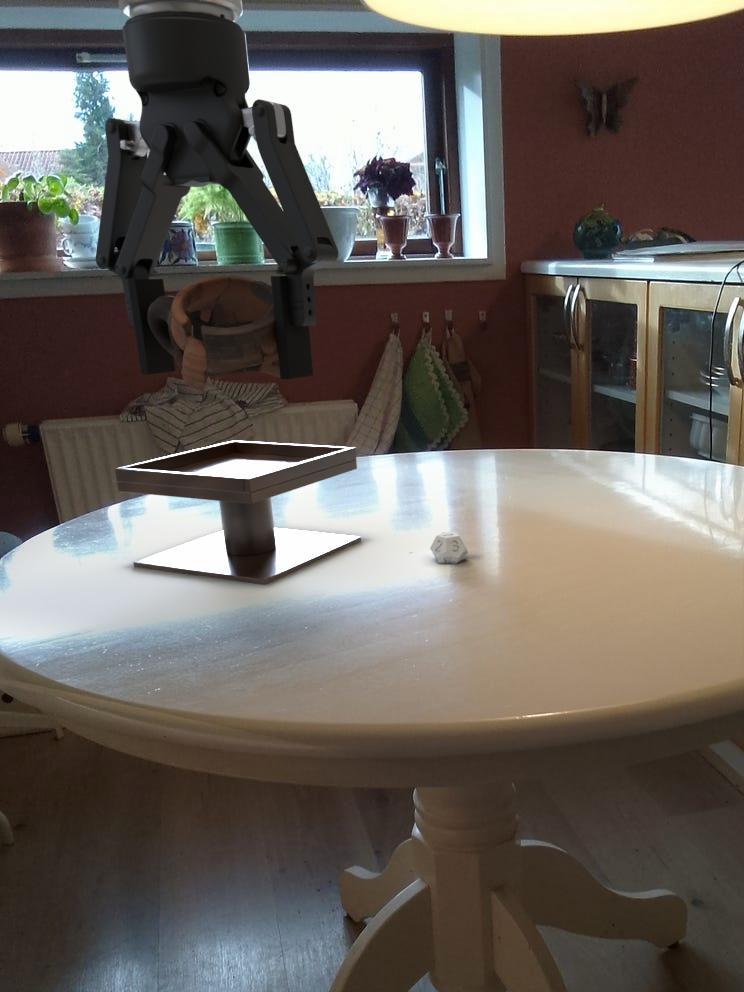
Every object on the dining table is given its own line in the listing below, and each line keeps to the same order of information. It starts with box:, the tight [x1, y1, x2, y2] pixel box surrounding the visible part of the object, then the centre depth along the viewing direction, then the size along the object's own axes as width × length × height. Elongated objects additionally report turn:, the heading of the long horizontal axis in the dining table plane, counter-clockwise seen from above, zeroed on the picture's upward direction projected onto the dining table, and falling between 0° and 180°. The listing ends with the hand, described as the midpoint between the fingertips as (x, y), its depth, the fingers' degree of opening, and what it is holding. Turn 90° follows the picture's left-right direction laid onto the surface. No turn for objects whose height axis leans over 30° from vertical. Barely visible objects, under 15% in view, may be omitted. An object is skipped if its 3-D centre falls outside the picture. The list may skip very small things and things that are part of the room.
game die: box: [429, 531, 469, 564], centre depth 89 cm, size 4×4×3 cm
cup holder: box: [114, 440, 362, 586], centre depth 92 cm, size 16×17×10 cm
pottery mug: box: [147, 275, 280, 393], centre depth 65 cm, size 12×10×8 cm
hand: (225, 375), depth 66 cm, fingers closed on pottery mug, 12 cm apart
